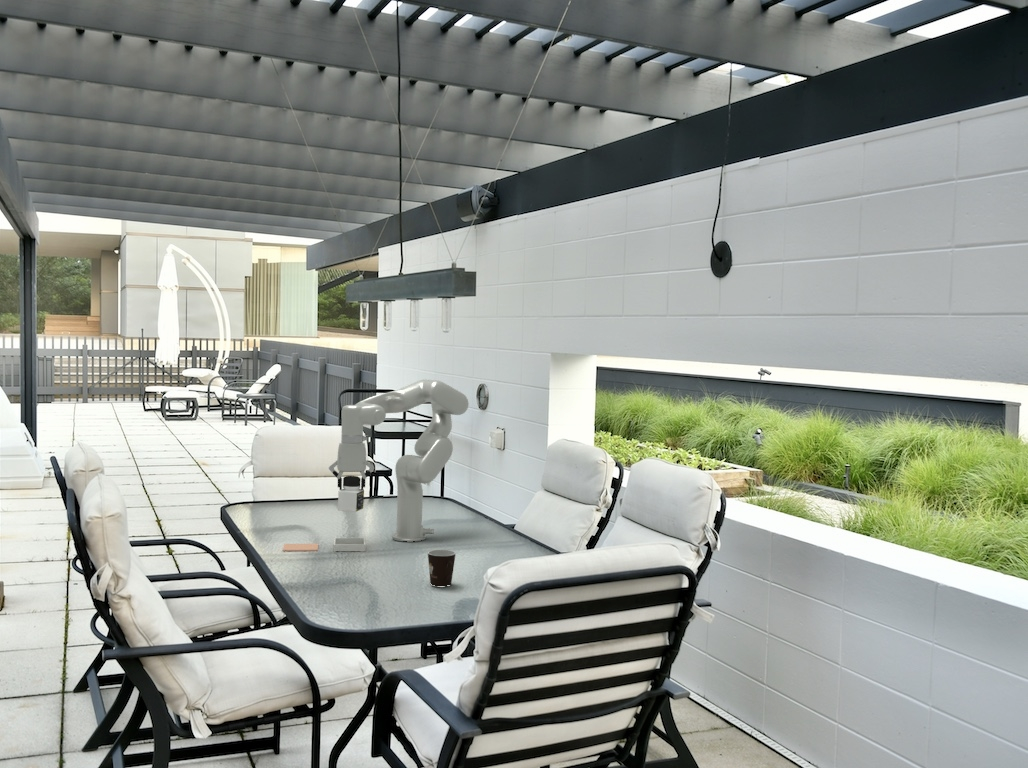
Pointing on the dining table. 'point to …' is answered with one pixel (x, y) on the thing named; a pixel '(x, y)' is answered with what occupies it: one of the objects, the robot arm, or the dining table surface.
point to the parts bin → (349, 544)
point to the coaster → (300, 547)
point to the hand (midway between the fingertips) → (351, 489)
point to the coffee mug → (441, 567)
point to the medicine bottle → (351, 495)
